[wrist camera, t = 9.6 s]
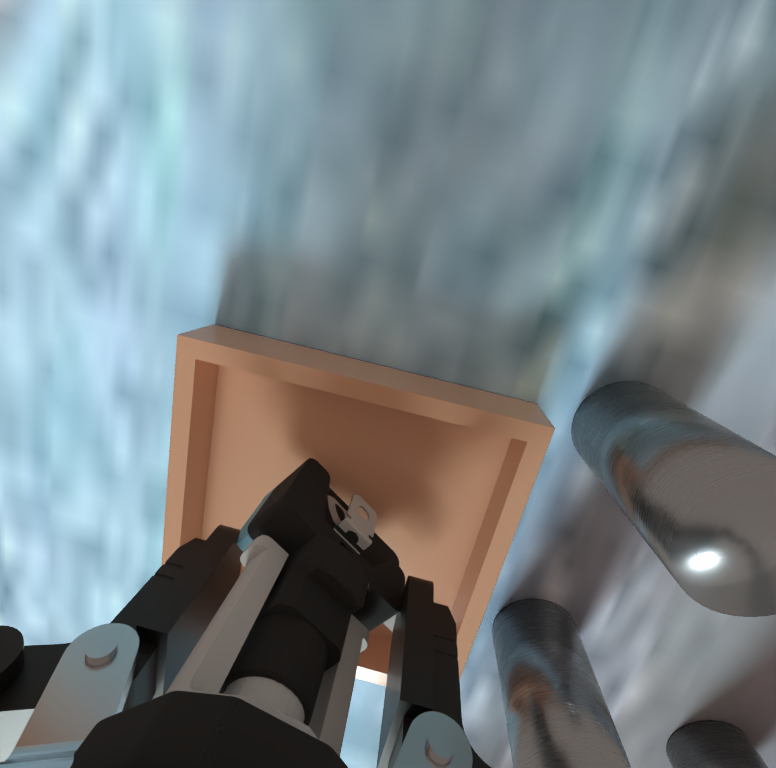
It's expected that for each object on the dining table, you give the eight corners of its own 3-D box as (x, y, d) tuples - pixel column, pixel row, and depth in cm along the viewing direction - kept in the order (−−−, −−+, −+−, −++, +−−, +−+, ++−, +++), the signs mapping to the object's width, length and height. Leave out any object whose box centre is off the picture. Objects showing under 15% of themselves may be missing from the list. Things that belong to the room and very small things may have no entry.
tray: (537, 403, 14) (555, 428, 12) (447, 651, 17) (450, 704, 15) (214, 324, 14) (177, 334, 12) (189, 582, 17) (157, 623, 15)
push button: (474, 562, 14) (565, 1258, 4) (360, 637, 15) (230, 1284, 5) (335, 419, 13) (35, 877, 3) (228, 513, 14) (-201, 1024, 5)
